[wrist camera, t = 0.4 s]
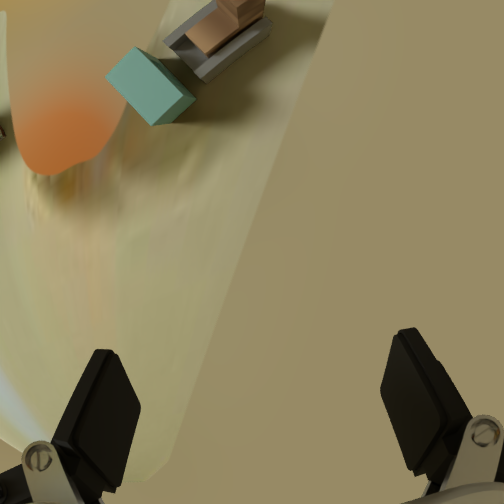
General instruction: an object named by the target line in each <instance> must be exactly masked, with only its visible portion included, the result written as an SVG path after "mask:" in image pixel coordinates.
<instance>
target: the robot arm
mask: <svg viewBox="0 0 504 504" xmlns="http://www.w3.org/2000/svg"><path fill="white" fill-rule="evenodd" d="M380 392H381V397H382V400H383V402H384V405H385V408H386V410H387V413H388V415H389V418H390V421H391V423H392V426H393V429H394V432H395V434H396V437H397V440H398V443H399V446H400V448H401V451H402V454H403V457H404V460H405V463H406V466H407V468H408V470H410V471H411V470H413V473H414V476H415V477H416V476H419V475H422V474H425V473H426V475H427V478H428V480H429V481H428V484H427V486H426V488H425V491H424V492H423V494H422V496H421V498H418V499H415V500H412V501H408V502H405V503H401V504H504V430H503V426H502V425H501V423H500V422H499V421H498V420H497V419H496V418H494V417H492V416H490V415H478V416H476V417H474V418H473V417H472V415H471V413H470V412H469V410H468V408H467V406H466V404H465V402H464V401H463V399H462V397H461V395H460V394H459V392H458V390H457V389H456V387H455V385H454V383H453V382H452V380H451V378H450V377H449V375H448V374H447V372H446V370H445V368H444V367H443V366H442V364H441V363H440V361H438V360H436V358H435V356H434V355H433V353H432V352H431V350H430V348H429V347H428V345H427V344H426V342H425V341H424V339H423V337H422V336H421V334H420V333H419V331H418V330H417V329H416V328H414V327H413V328H408V329H402V330H399V331H398V334H397V335H394V337H393V340H392V345H391V349H390V353H389V357H388V361H387V366H386V369H385V373H384V377H383V380H382V384H381V387H380ZM140 411H141V405H140V402H139V400H138V398H137V396H136V394H135V391H134V389H133V387H132V385H131V383H130V381H129V379H128V376H127V374H126V372H125V370H124V367H123V365H122V363H121V361H120V358H119V356H118V355H117V354H115V353H114V352H113V351H112V350H109V349H96V350H95V351H94V353H93V355H92V357H91V359H90V360H89V362H88V364H87V366H86V368H85V370H84V372H83V374H82V376H81V378H80V380H79V382H78V384H77V386H76V388H75V390H74V392H73V394H72V396H71V399H70V401H69V403H68V405H67V407H66V409H65V411H64V413H63V416H62V418H61V420H60V422H59V424H58V427H57V429H56V431H55V433H54V436H53V438H52V440H51V443H49V442H46V441H36V442H33V443H31V444H30V445H28V446H27V447H26V448H25V450H24V452H23V454H22V459H21V460H22V464H20V465H18V466H16V467H14V468H12V469H10V470H7V471H5V472H3V473H1V474H0V504H104V502H103V500H102V498H101V496H102V492H103V491H106V492H111V493H115V492H116V488H117V487H119V486H120V485H121V483H122V479H123V475H124V471H125V467H126V463H127V459H128V455H129V452H130V448H131V444H132V440H133V437H134V433H135V429H136V426H137V422H138V419H139V415H140Z"/></svg>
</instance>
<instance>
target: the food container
mask: <svg viewBox="0 0 504 504" xmlns="http://www.w3.org/2000/svg"><path fill="white" fill-rule="evenodd" d="M4 137H6V136H5V133H4V130H3V128H2V127H1V126H0V141H1V140H2V139H3V138H4Z"/></svg>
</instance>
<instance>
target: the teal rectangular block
mask: <svg viewBox="0 0 504 504" xmlns="http://www.w3.org/2000/svg"><path fill="white" fill-rule="evenodd" d="M105 78H106V79H107V80H108V81H109V82H110V83H111V84H112V85H113V86H114V87H115V89H116V90H117V91H118V92H119V93H120V94H121V95H122V96H123V97H124V98H125V99H126V100H127V101H128V102H129V103H130V104H131V105H132V106H133V107H134V109H135V110H136V111H137V112H138V113H139V114H140V115H141V116H142V117H143V118H144V119H145V120H146V121H147V122H148V123H149V124H150V125H151V126H155V125H162V124H169V123H172V122H173V121H174V120H175V119H176V118H177V117H178V116H179V115H180V114H181V113H182V112H183V111H185V110H186V109H187V108H188V107H189V106H190V105H191V104H192V103H193V102H194V101H196V100H197V99H196V98H195V97H194V96H193V95H192V94H191V93H190V92H189V91H188V89H187V88H186V87H185V86H184V85H183V84H182V83H181V82H180V81H179V80H178V79H177V78H176V77H175V76H174V75H173V74H172V73H171V72H170V71H169V70H168V69H167V68H166V67H165V66H164V65H163V64H162V63H161V62H160V61H159V60H158V59H157V58H155V57H153V56H152V55H150V54H148V53H146V52H144V51H143V50H141V49H139V48H137V47H134V48H133V49H132V50H130V52H129V53H127V54H126V55H125V56H124V58H123V59H121V61H120V62H119V63H118V64H117V65H116V66H115V67H114V68H113V69H112V70H111V71H110V72H109V73H108V74H107V75H106V76H105Z"/></svg>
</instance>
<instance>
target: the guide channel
mask: <svg viewBox="0 0 504 504" xmlns="http://www.w3.org/2000/svg"><path fill="white" fill-rule="evenodd" d="M216 8H218V7H217V3H216V0H213V1H211V2H210V3H209V4H207V5H206V6H205V7H203V8H202V9H201V10H199V11H198V12H197V13H195V14H194V15H193V16H192V17H190V18H189V19H188V20H187V21H185V22H184V23H183V24H182V25H180V26H179V27H178V28H177V29H176V30H175V31H173V32H172V33H171V34H170V35H169V36H167V37H166V38H165V39H164V40H163V42H164V43H165V44H166V45H167V46H168V47H169V48H170V49H172V50H173V51H174V52H175V53H176V54H177V55H178V56H179V57H180V58H181V59H182V60H183V61H184V62H185V63H186V64H187V65H188V66H189V67H190V68H191V69H192V70H193V71H194V73H195V74H196V75H197V76H198V77H199V78H200V79H201V80H202V81H204V82H205V83H206V84H207V83H209V82H210V81H211V80H212V79H213V78H215V77H216V76H217V75H218V74H219V73H221V72H222V71H223V70H224V69H225V68H227V67H228V66H229V65H230V64H232V63H233V62H234V61H236V60H237V59H238V58H239V57H241V56H242V55H243V54H245V53H246V52H247V51H249V50H250V49H251V48H253V47H254V46H255V45H257V44H258V43H259V42H261V41H262V40H263V39H265V38H266V37H268V36H269V34H270V31H271V27H272V24H273V23H272V22H271V21H270V20H269V19H268V18H267V17H264V18H263V19H261V20H260V21H258V22H257V23H255V24H254V25H252V26H251V27H250V28H248V29H247V30H246V31H244V32H243V33H241V34H240V35H239V36H237V37H236V38H235V39H233V40H232V41H231V42H230V43H228V44H227V45H226V46H224V47H223V48H222V49H221V50H219V51H218V52H217V53H216V54H214V55H213V56H212V57H211V58H208V57H207V56H206V55H205V54H204V53H203V52H202V51H201V50H200V49H199V48H198V47H197V46H195V45H194V44H193V43H192V42H191V41H190V40H189V38H188V37H187V36H186V35H185V33H186V32H187V31H188V30H189V29H191V28H192V27H193V26H194V25H196V24H197V23H198V22H199V21H201V20H202V19H203V18H204V17H206V16H207V15H208V14H210V13H211V12H212V11H214V10H215V9H216Z"/></svg>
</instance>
